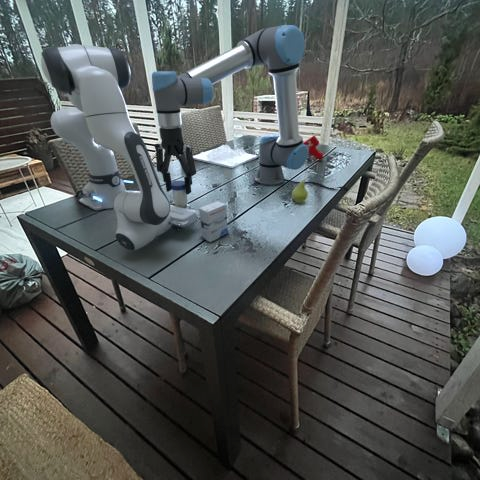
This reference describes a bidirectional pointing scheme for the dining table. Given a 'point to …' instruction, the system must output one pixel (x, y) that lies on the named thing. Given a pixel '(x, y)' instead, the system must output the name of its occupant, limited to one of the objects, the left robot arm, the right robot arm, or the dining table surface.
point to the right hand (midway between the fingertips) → (179, 191)
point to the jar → (180, 198)
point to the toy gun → (313, 147)
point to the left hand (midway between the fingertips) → (182, 205)
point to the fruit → (300, 192)
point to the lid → (178, 185)
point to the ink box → (213, 221)
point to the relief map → (225, 156)
